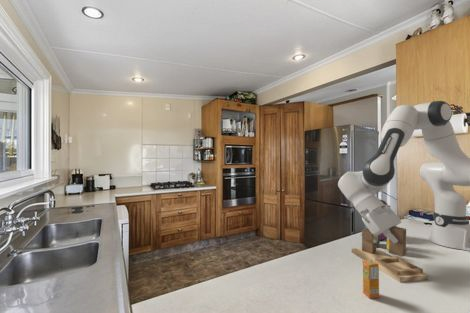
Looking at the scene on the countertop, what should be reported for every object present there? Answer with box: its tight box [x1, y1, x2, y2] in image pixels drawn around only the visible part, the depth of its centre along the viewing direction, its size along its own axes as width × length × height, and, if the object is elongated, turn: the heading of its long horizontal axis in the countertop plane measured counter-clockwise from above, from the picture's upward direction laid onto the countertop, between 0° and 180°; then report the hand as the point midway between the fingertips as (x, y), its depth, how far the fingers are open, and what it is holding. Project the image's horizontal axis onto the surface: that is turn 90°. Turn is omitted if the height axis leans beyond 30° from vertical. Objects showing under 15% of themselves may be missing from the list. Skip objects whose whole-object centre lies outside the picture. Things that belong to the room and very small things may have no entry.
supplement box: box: [362, 259, 380, 299], centre depth 69 cm, size 3×4×10 cm
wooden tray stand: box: [351, 227, 429, 283], centre depth 89 cm, size 11×24×10 cm, turn 10°
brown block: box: [386, 226, 407, 258], centre depth 84 cm, size 4×5×9 cm
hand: (399, 240), depth 83 cm, fingers closed on brown block, 4 cm apart
